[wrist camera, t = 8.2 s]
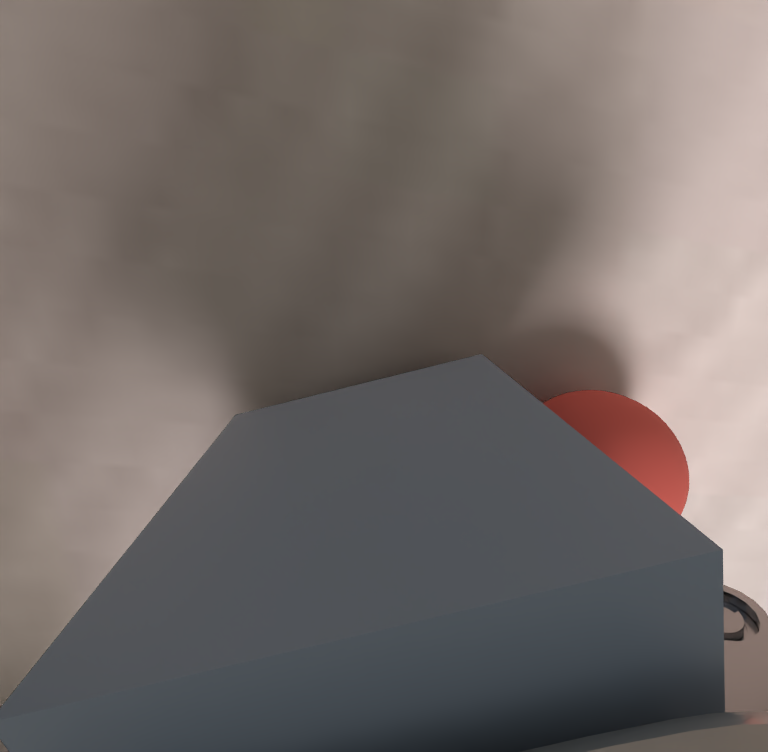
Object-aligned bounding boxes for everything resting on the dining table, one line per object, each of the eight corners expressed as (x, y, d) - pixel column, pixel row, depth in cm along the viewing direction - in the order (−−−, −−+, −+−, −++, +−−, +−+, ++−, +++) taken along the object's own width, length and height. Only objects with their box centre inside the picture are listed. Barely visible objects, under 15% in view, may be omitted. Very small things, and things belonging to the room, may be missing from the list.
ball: (547, 487, 17) (698, 508, 14) (498, 566, 14) (687, 620, 10) (529, 372, 16) (689, 365, 13) (470, 425, 12) (673, 435, 9)
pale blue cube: (519, 560, 15) (729, 967, 6) (307, 610, 15) (236, 1073, 6) (481, 353, 13) (722, 550, 4) (235, 414, 13) (-13, 722, 4)
